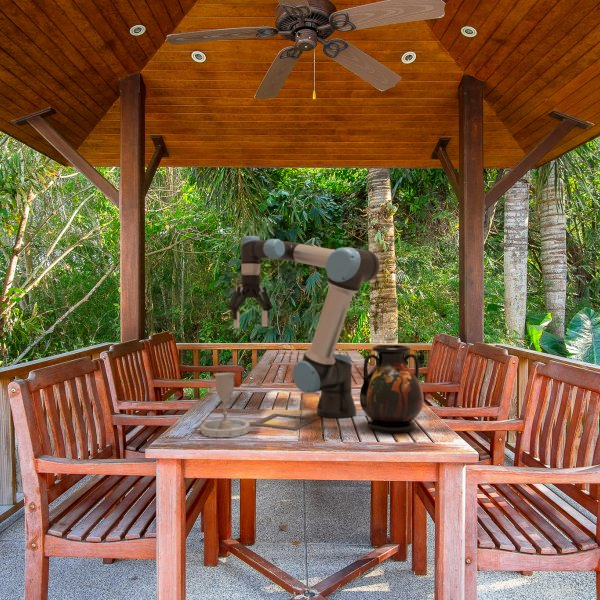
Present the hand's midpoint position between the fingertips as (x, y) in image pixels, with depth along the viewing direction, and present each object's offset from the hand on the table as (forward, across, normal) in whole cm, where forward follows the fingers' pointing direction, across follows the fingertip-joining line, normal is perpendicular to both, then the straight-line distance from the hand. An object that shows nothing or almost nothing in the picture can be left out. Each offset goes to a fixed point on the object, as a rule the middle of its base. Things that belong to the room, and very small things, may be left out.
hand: (250, 327), depth 208 cm
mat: (+33, +4, +27) cm, 43 cm away
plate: (+33, +27, +25) cm, 49 cm away
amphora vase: (+33, -19, +57) cm, 69 cm away
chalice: (+32, +27, +25) cm, 48 cm away
